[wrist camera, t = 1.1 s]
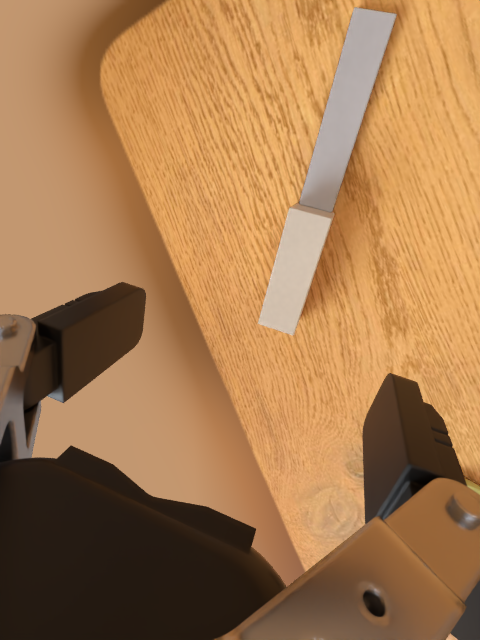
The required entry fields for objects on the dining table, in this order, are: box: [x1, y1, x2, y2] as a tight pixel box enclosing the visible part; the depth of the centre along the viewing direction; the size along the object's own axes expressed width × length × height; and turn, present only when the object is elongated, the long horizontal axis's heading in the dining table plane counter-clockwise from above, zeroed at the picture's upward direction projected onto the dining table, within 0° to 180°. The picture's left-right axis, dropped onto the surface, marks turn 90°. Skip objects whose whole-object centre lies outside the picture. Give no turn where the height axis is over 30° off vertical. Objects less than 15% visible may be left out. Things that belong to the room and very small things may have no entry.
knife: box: [258, 7, 397, 335], centre depth 21 cm, size 18×3×3 cm, turn 167°
